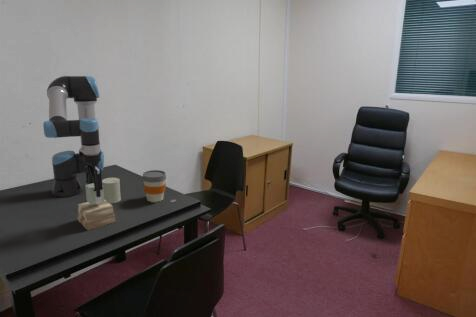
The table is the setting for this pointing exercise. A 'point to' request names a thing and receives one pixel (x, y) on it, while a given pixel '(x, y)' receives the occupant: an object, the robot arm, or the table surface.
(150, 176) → the reusable coffee cup
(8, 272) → the table surface
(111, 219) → the block
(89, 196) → the green block
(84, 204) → the tower top
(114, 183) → the can
